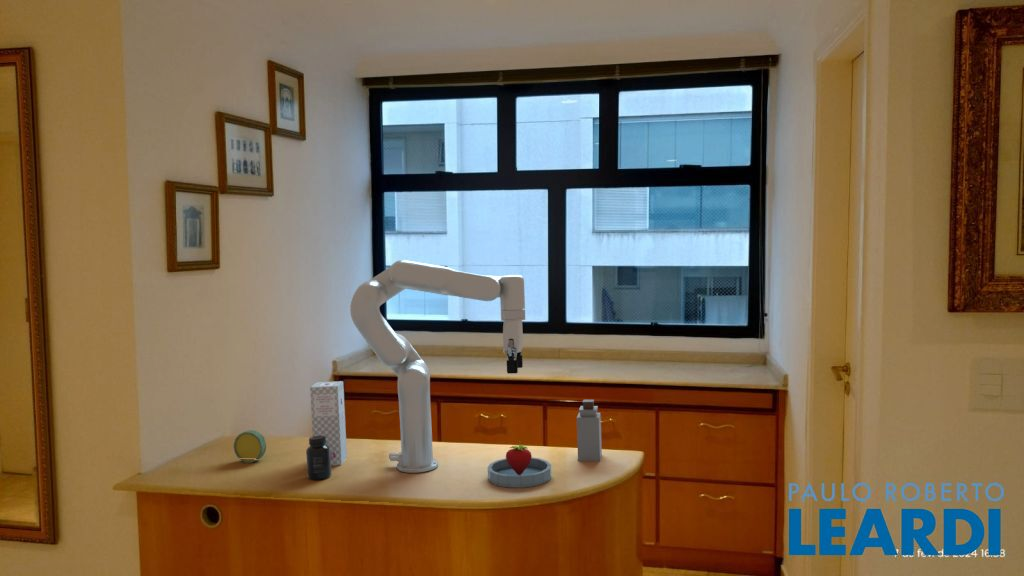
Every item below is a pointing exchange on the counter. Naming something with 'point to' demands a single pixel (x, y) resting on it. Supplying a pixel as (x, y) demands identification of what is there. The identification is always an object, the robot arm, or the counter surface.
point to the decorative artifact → (249, 446)
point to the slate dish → (531, 476)
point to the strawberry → (518, 458)
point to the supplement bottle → (318, 458)
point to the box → (330, 417)
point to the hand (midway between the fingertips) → (515, 370)
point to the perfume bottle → (589, 432)
